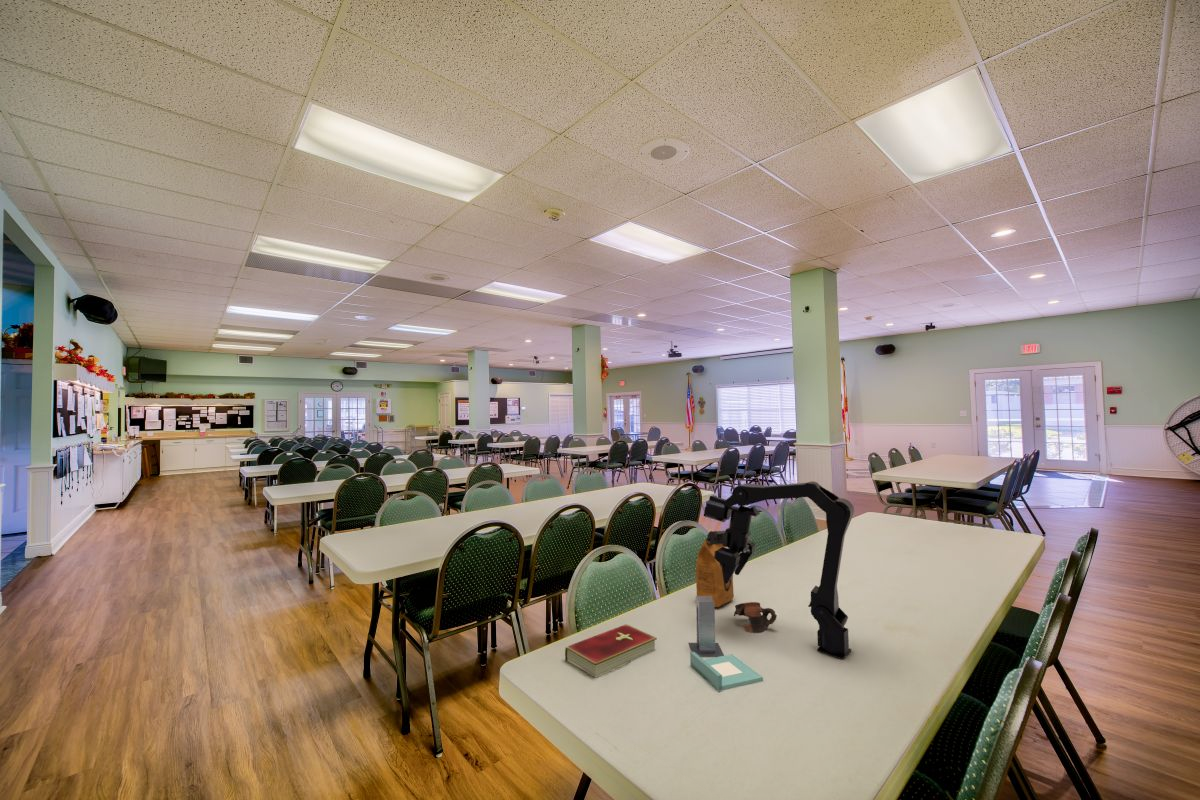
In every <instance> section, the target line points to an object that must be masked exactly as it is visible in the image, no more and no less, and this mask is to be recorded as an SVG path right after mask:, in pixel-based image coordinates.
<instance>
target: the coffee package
mask: <svg viewBox="0 0 1200 800" xmlns="http://www.w3.org/2000/svg"><path fill="white" fill-rule="evenodd" d="M722 547H724V546H723V544H713V545H710V544H709V541H708V540H707V538H705V539H704V542H703V543H702V545H701V547H700V549H699V551H698V553H697V556H696V557H697V558H696V563H695V564H696V566H695V569H696V570H695V580H696V581H695V583H696V585H695V586H696V596H711V597H712V599H713V600H714V602H715V608H719V607H721V606H722V605H724V604H727V603H728V602H731V601H732V600H733V599H734V596H735V595H734V594H735V593H734V574H733V575H732V577H731V579H730V580H729V582H728V583H727V584H726V583H724V580H723V573H722V567H721V564H720V563H719V562H718V561H717V560H716V559H715V558H714V554H715V551H717V550H718V549H720V548H722Z"/></svg>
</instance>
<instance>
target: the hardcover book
mask: <svg viewBox="0 0 1200 800" xmlns="http://www.w3.org/2000/svg"><path fill="white" fill-rule="evenodd" d="M656 640H657V637H656V636H654V635H651V634H650V633H648V632H644V631H642V630H640V629H638V628H636V627H634V626H631V625H629V624H627V623H626V624H622V625H620V626H618V627H615V628H613V629H610V630H607V631H605V632H602V633H599V634H596V635H593V636H592V637H591V636H590V637H588V638H586V639H583V640H581V641H577V642H575V643H572V644H570V645H567V646H565V649H564V658H565V659H564V660H565V662H569V663H571V664H572V665H573V666H575V667H577V668H579V669H580V670H582V671H584V672H586V673H587V674H588V675H591V676H592V677H593V678H594V679H596V678H598V677H600V676H603V675H605V674H607V673H609V672H611V671H615V670H616V669H618V668H620V667H622V666H623V667H624V666H625V665H627V664H630V663H631V661H633V660H635V659H637V658H639V657H641V656H644V655H646V654H648V653H650V652H653V651H655V650H656V646H655V645H656V644H655V641H656Z"/></svg>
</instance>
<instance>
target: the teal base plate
mask: <svg viewBox="0 0 1200 800" xmlns="http://www.w3.org/2000/svg"><path fill="white" fill-rule="evenodd" d="M689 657H690V658H689V659H690V667H691V668H692V669H694V671H695V672H697V674H699V675H700V676H701V677H702V678H703V679H704V680H706V682H707V683H709V684H710V685H711V686H712V687H713V688H714V689H715V690H717V693H720V692H721V691H725V690H729V689H733V688H738V687H741V686H742V687H743V686H746V685H753V684H756V683H760V682H763V681H764V677H763V676H762V675H761V674H760V673H758V672H756V671H755V670H754V669H753V668H752V667H750V666H749V665H748V664H746V663H744V662H743V661H742V660H740V659H739V658H738V657H737V656H736V655H734V654H733V653H732V654H725V655H724V656H720V657H709V658H705V659H703V657H700V656H699V655H697V654H696V653H695V652H690V655H689Z"/></svg>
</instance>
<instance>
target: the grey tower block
mask: <svg viewBox="0 0 1200 800" xmlns="http://www.w3.org/2000/svg"><path fill="white" fill-rule="evenodd" d="M695 609H696V610H695V617H696V618H695V621H696V643H697V648H699V653H700V654H715V643H716V617H715V615H716V614H715V612H716V611H715V609H716V607H715V602H714V600H713V599H712V597H711V596H697V595H695Z"/></svg>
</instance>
